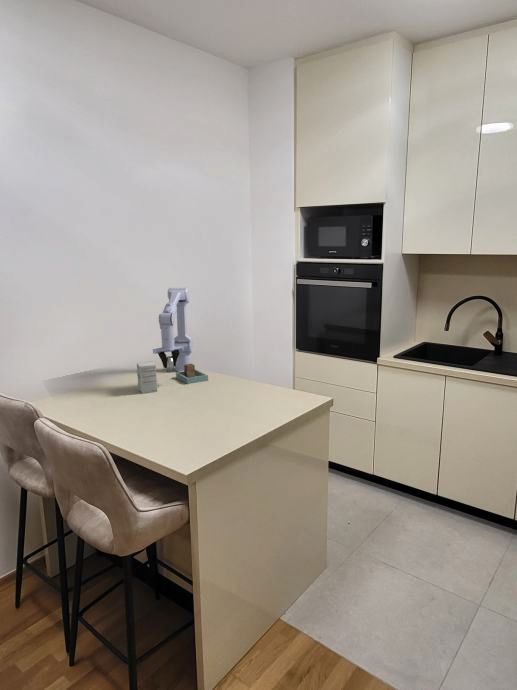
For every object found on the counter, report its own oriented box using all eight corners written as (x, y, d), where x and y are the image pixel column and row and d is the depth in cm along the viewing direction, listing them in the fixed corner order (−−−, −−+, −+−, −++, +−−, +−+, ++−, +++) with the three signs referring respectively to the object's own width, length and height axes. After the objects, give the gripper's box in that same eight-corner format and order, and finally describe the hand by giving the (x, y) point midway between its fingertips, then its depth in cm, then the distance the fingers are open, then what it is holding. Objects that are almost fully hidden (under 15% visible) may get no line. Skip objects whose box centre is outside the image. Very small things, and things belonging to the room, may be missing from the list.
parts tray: (176, 377, 237) (175, 372, 236) (196, 374, 242) (196, 369, 242) (187, 384, 225) (186, 378, 225) (208, 380, 231) (208, 375, 230)
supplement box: (138, 389, 218) (136, 362, 215) (154, 387, 221) (152, 361, 218) (141, 393, 211) (139, 366, 209) (157, 391, 214) (156, 364, 212)
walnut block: (184, 376, 237) (183, 364, 235) (191, 375, 239) (191, 363, 237) (187, 378, 233) (187, 366, 232) (195, 376, 235) (194, 365, 234)
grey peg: (164, 371, 224) (163, 356, 222) (172, 369, 226) (171, 355, 224) (167, 373, 220) (166, 358, 219) (175, 371, 222) (174, 357, 221)
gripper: (155, 341, 213) (157, 370, 216) (185, 337, 220) (187, 366, 223) (150, 339, 219) (152, 367, 222) (180, 335, 226) (181, 363, 229)
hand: (169, 366), depth 223 cm, fingers closed on grey peg, 4 cm apart
